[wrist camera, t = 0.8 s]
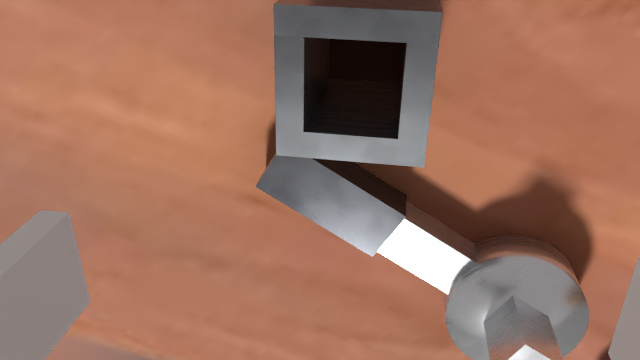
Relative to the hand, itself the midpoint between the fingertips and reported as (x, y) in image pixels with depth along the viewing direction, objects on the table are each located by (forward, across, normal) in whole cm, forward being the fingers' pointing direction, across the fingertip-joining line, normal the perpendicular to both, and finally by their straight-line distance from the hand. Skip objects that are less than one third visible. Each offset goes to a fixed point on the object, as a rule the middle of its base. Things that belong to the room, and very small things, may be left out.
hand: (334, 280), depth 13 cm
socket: (+19, -1, +1) cm, 19 cm away
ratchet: (+19, +3, -11) cm, 22 cm away
